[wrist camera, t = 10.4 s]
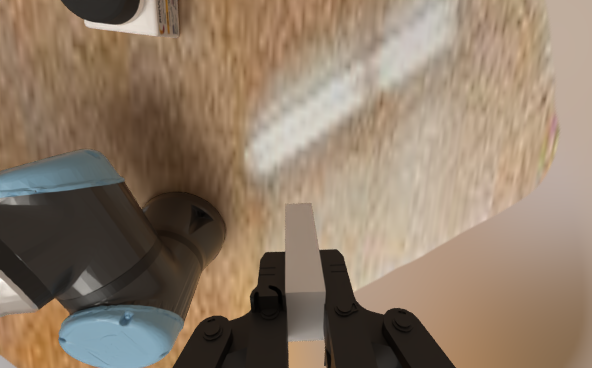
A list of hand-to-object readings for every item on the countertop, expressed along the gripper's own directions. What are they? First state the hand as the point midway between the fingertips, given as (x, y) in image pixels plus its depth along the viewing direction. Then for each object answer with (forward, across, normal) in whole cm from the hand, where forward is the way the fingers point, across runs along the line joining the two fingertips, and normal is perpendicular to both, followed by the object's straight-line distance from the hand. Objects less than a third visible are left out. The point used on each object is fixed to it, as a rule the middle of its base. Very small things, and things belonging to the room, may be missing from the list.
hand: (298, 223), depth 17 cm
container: (+30, -18, +15) cm, 38 cm away
